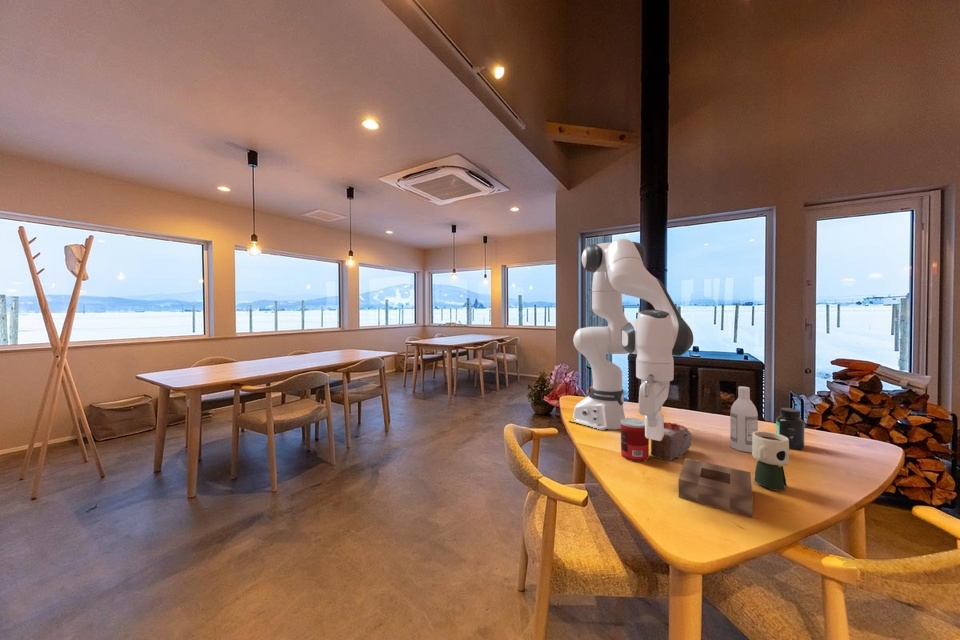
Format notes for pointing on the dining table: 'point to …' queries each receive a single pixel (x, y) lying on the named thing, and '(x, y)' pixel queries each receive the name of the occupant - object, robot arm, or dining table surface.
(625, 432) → the canned food
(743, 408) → the bath foam
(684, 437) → the food item
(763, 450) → the character mug
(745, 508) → the socket
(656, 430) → the pepper shaker
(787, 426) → the supplement bottle
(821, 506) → the dining table surface
